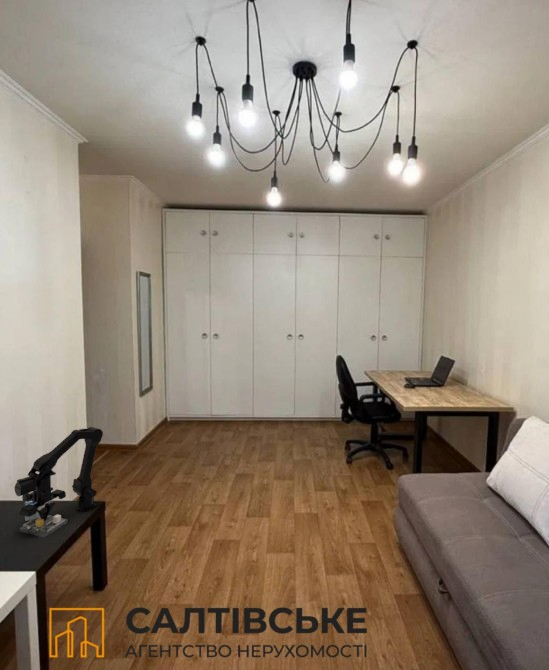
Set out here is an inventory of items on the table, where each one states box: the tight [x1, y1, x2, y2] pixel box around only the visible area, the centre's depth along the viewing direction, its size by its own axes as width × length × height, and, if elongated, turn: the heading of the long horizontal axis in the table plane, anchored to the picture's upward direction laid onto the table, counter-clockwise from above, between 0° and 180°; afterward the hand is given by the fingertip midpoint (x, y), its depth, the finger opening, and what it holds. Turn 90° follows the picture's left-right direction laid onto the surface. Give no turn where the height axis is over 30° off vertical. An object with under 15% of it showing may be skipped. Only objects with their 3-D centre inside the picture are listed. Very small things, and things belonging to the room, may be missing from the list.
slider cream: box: [53, 514, 62, 524], centre depth 164 cm, size 3×2×3 cm
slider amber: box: [35, 518, 44, 528], centre depth 161 cm, size 3×2×3 cm
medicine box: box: [24, 501, 38, 522], centre depth 172 cm, size 8×4×9 cm, turn 21°
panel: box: [19, 514, 68, 538], centre depth 164 cm, size 12×14×2 cm
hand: (44, 520), depth 163 cm, fingers closed
